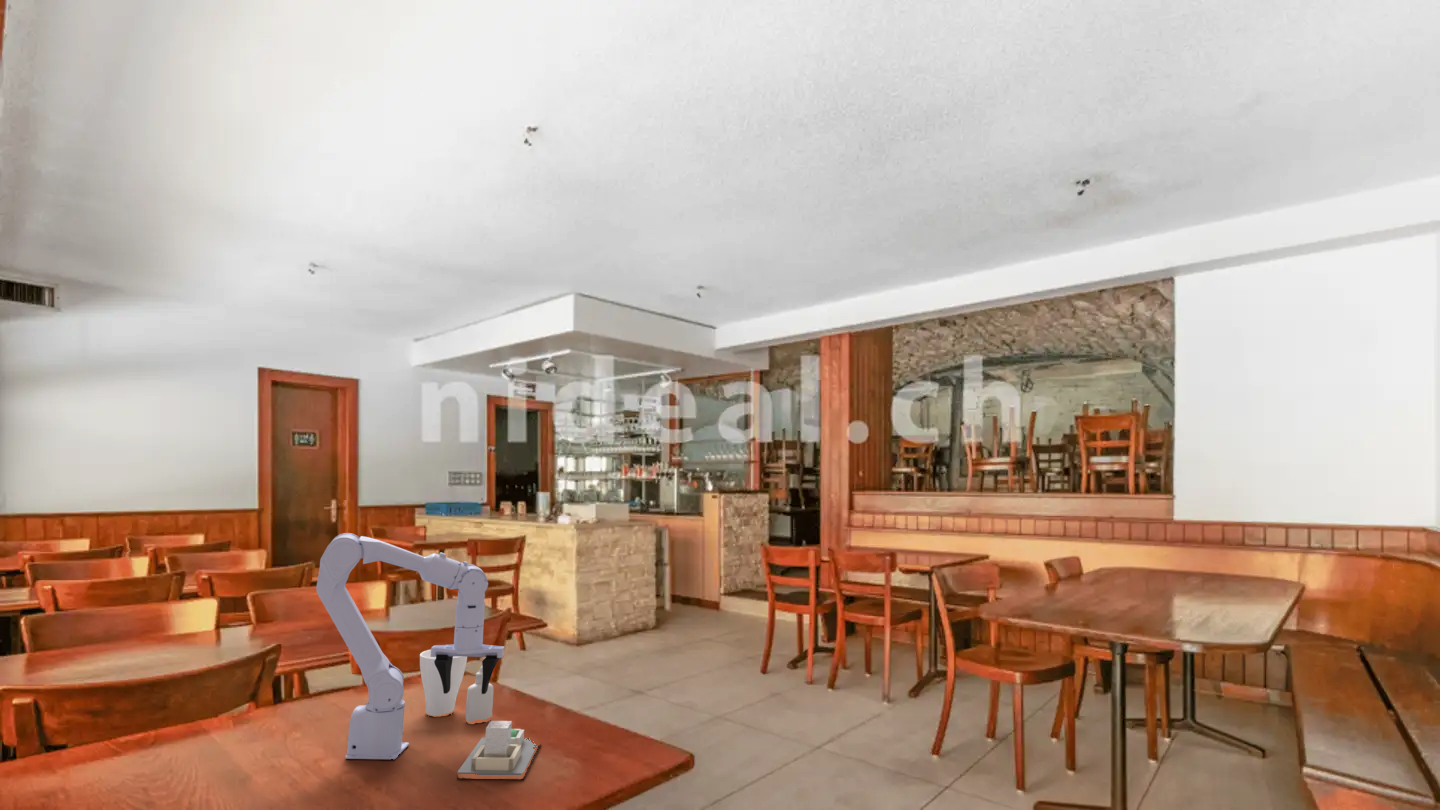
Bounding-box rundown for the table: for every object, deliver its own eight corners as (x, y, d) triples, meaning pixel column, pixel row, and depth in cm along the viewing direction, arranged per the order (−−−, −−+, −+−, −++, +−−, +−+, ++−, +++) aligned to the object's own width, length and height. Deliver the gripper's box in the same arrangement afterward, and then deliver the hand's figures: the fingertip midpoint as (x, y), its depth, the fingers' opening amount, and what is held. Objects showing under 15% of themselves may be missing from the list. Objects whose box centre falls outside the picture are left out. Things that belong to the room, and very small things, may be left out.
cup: (405, 715, 170) (409, 654, 171) (441, 703, 179) (445, 645, 180) (437, 724, 165) (442, 661, 166) (473, 711, 174) (477, 652, 175)
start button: (497, 746, 149) (498, 733, 150) (501, 740, 153) (501, 728, 153) (513, 746, 150) (514, 734, 150) (516, 740, 153) (517, 728, 153)
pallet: (456, 779, 137) (458, 759, 137) (481, 743, 155) (482, 726, 155) (523, 780, 137) (524, 761, 138) (540, 744, 155) (541, 727, 156)
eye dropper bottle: (468, 718, 169) (471, 663, 170) (493, 718, 170) (496, 664, 171) (463, 724, 165) (466, 669, 166) (488, 725, 165) (492, 669, 166)
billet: (483, 766, 140) (485, 727, 141) (488, 758, 144) (490, 720, 145) (505, 766, 140) (507, 728, 141) (509, 758, 144) (511, 721, 145)
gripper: (508, 621, 160) (505, 686, 159) (439, 620, 159) (435, 686, 158) (501, 629, 153) (497, 697, 152) (429, 627, 152) (424, 696, 151)
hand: (465, 692), depth 154 cm, fingers open, 7 cm apart
